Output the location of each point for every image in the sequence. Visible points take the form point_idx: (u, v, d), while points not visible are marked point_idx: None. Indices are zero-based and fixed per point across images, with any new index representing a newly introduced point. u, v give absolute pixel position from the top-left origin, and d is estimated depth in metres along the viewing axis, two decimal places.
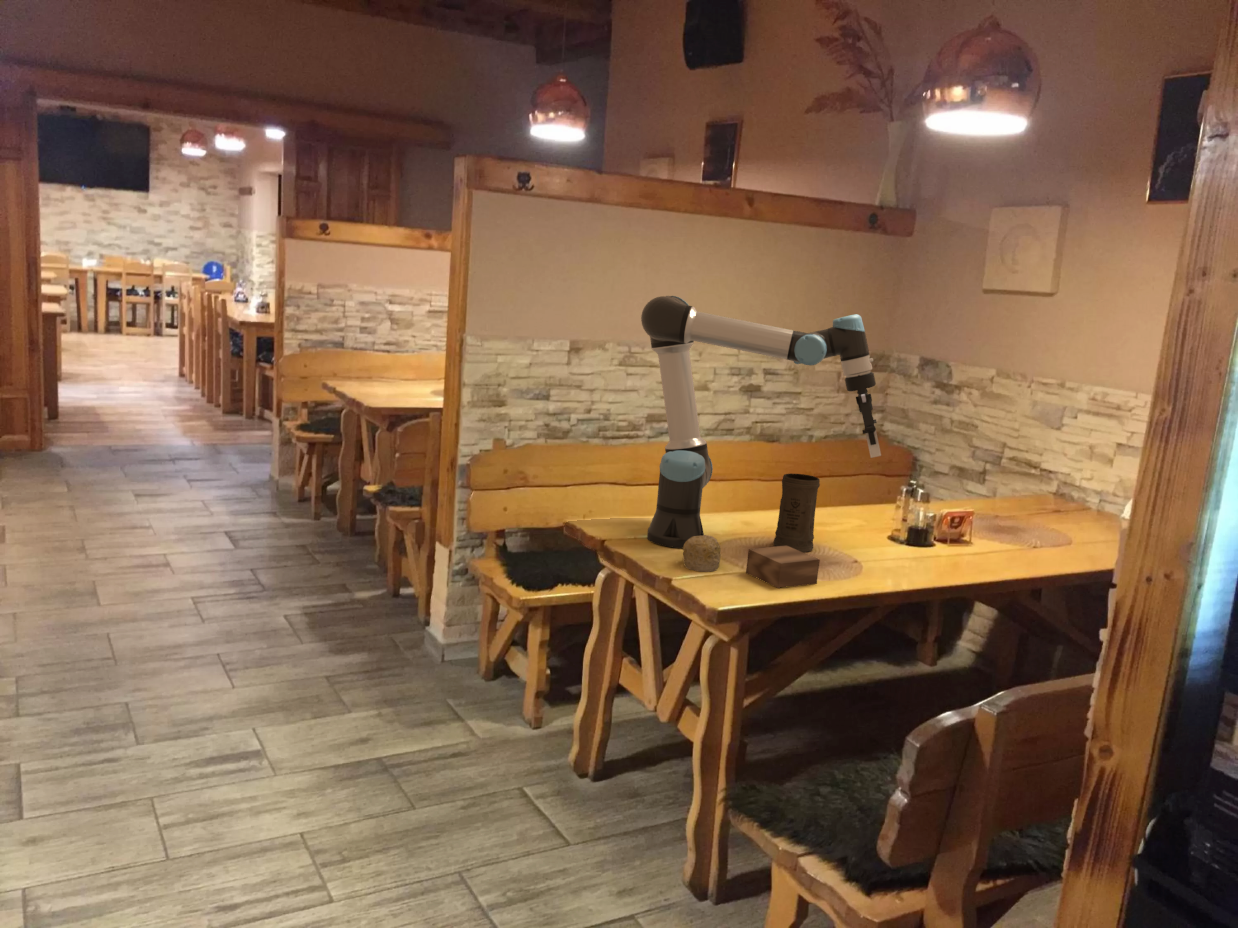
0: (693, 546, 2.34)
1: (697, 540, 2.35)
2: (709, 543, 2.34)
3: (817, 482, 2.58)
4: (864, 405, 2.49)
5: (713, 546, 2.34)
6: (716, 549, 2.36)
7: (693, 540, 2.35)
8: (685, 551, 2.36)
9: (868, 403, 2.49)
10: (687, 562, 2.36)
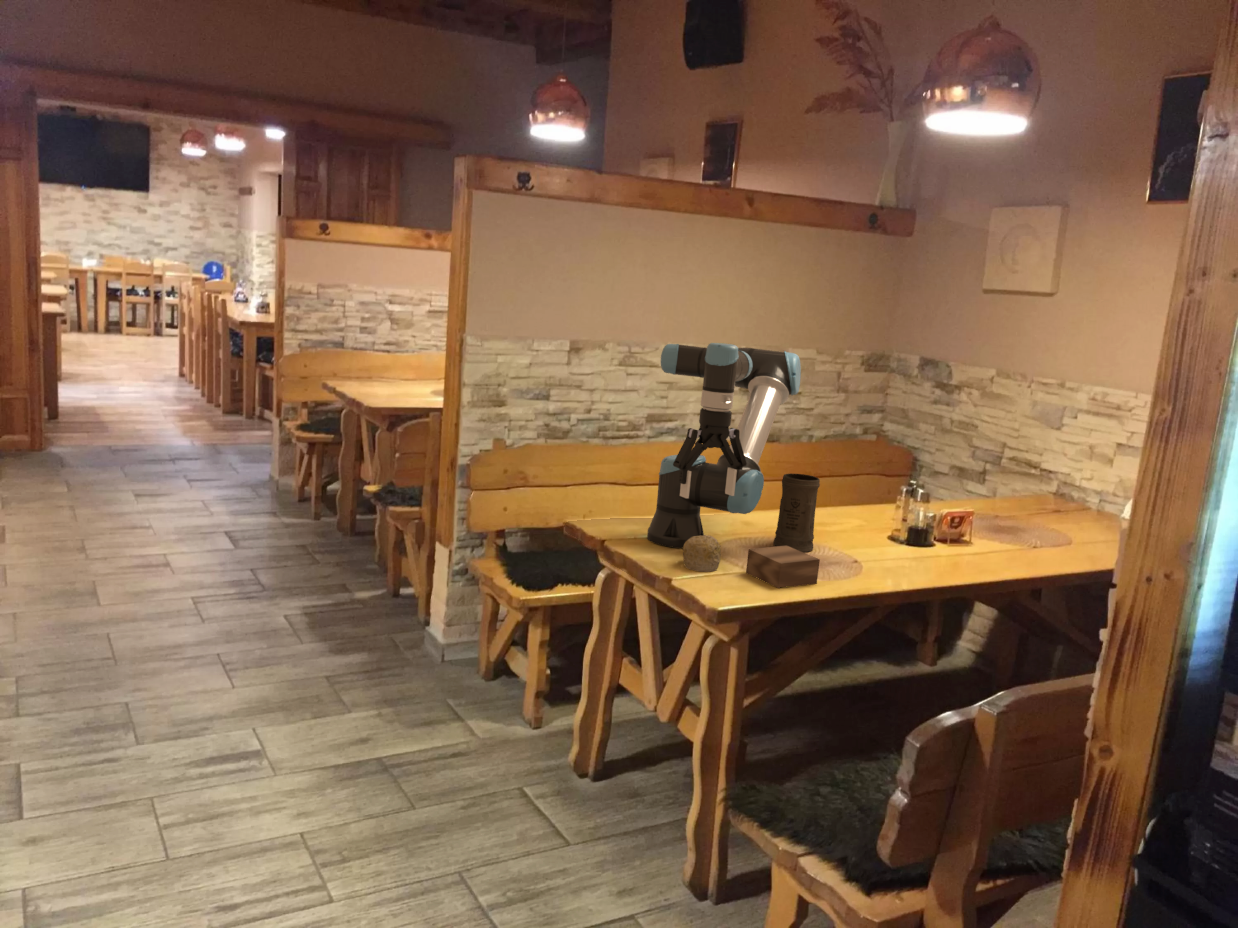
0: (693, 546, 2.34)
1: (697, 540, 2.35)
2: (709, 543, 2.34)
3: (817, 482, 2.58)
4: (687, 440, 2.29)
5: (713, 546, 2.34)
6: (716, 549, 2.36)
7: (693, 540, 2.35)
8: (685, 551, 2.36)
9: (690, 440, 2.28)
10: (687, 562, 2.36)
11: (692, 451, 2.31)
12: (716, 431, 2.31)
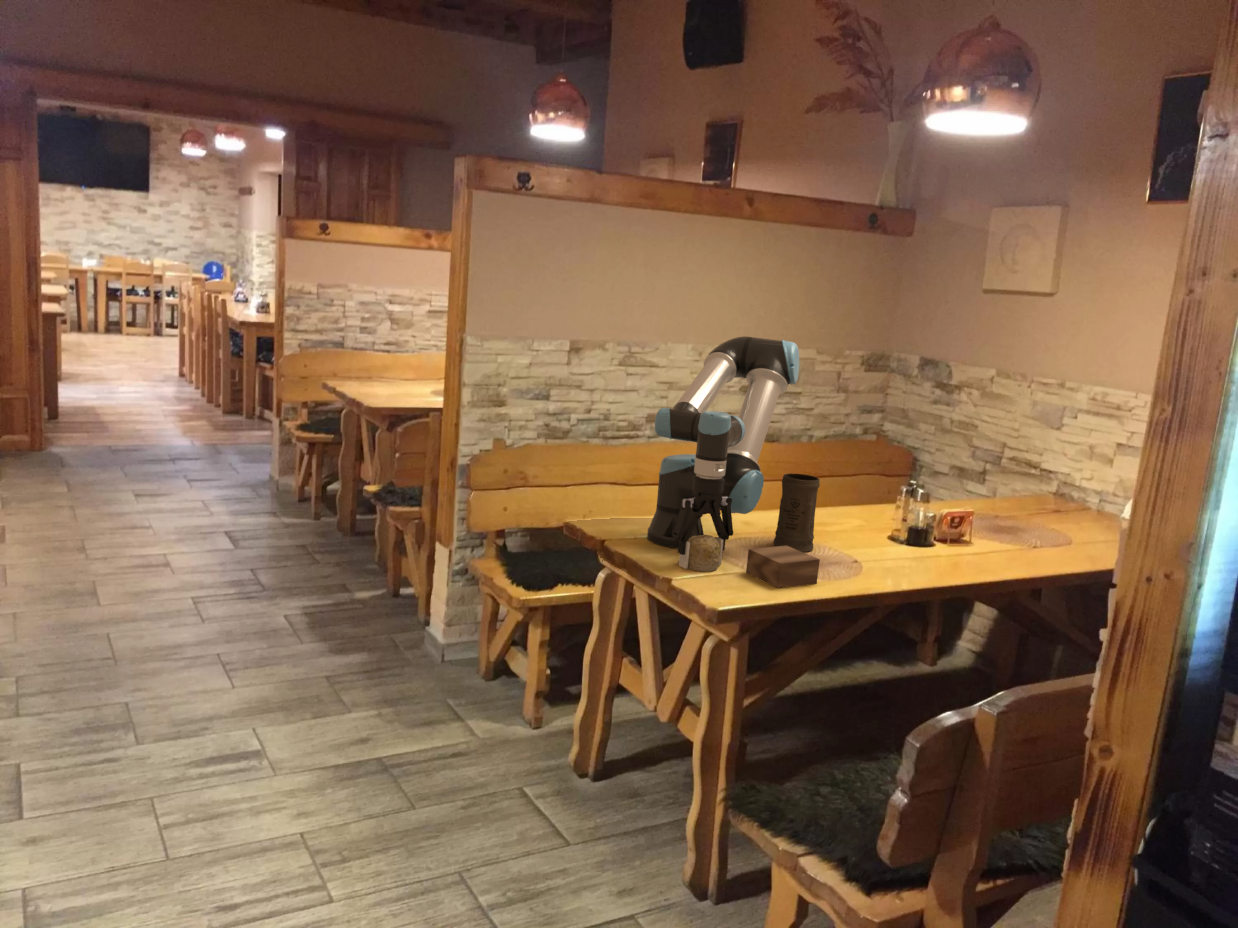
0: (693, 546, 2.34)
1: (697, 540, 2.35)
2: (709, 543, 2.34)
3: (817, 482, 2.58)
4: (682, 511, 2.33)
5: (713, 546, 2.34)
6: (716, 549, 2.36)
7: (693, 540, 2.35)
8: None
9: (685, 511, 2.32)
10: None
11: (688, 520, 2.35)
12: (709, 498, 2.35)
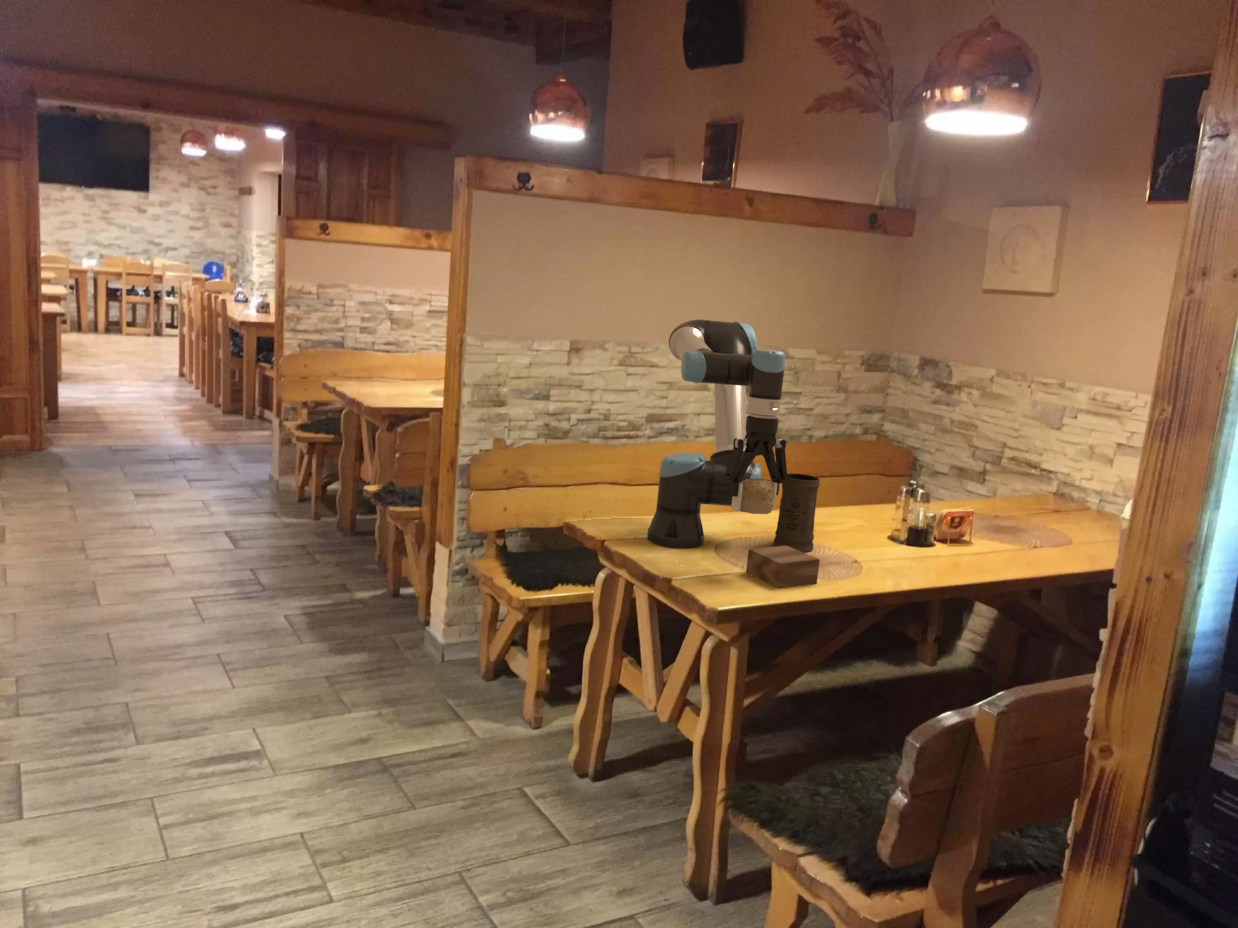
0: (746, 488, 2.28)
1: (750, 482, 2.29)
2: (762, 485, 2.28)
3: (817, 482, 2.58)
4: (735, 451, 2.27)
5: (766, 488, 2.28)
6: (770, 491, 2.29)
7: (746, 482, 2.29)
8: None
9: (738, 450, 2.26)
10: None
11: (741, 462, 2.29)
12: (763, 438, 2.29)
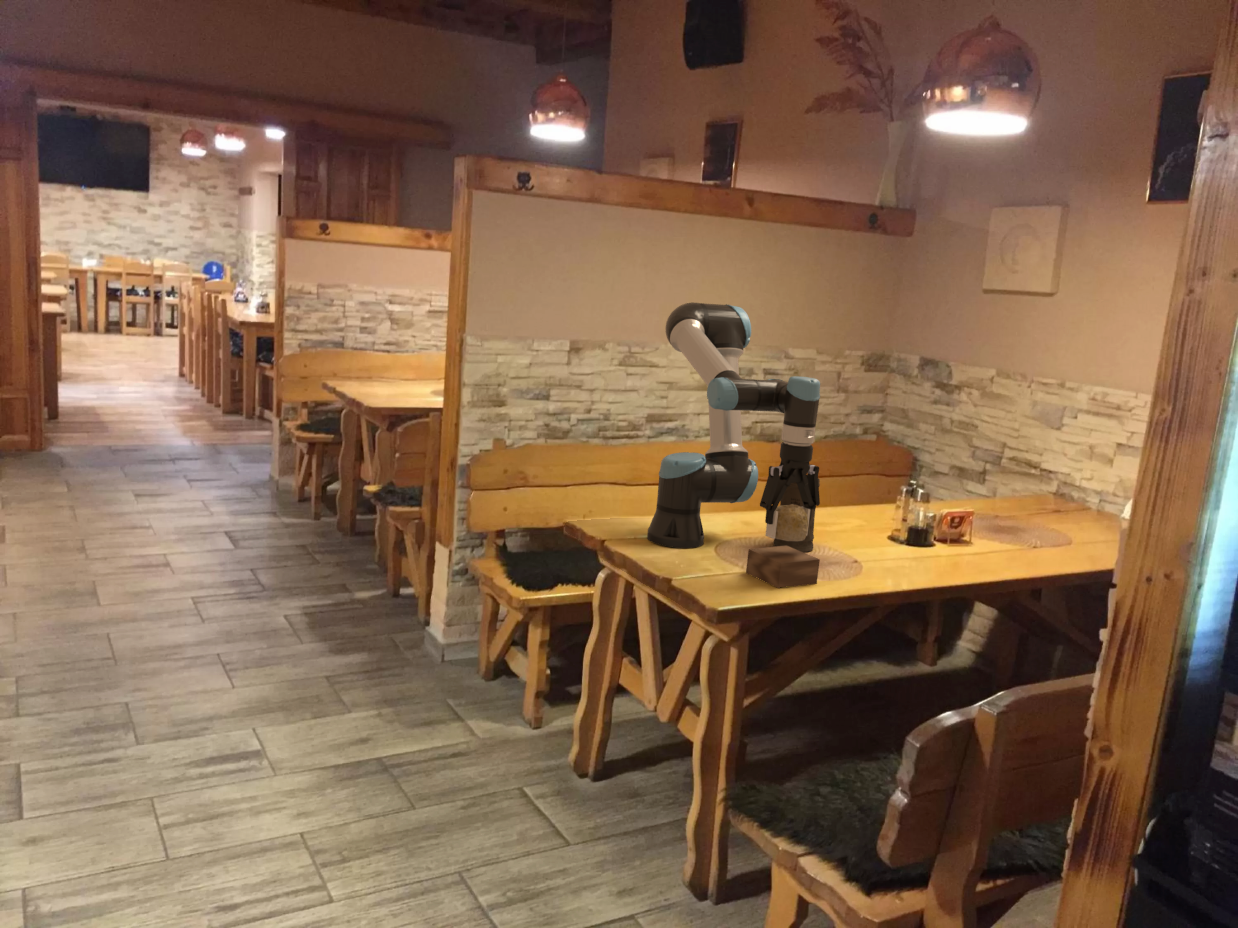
0: (781, 515, 2.28)
1: (785, 509, 2.29)
2: (798, 512, 2.28)
3: None
4: (770, 479, 2.26)
5: (802, 515, 2.28)
6: (804, 518, 2.29)
7: (781, 509, 2.29)
8: None
9: (773, 479, 2.25)
10: None
11: (776, 489, 2.28)
12: (797, 466, 2.28)
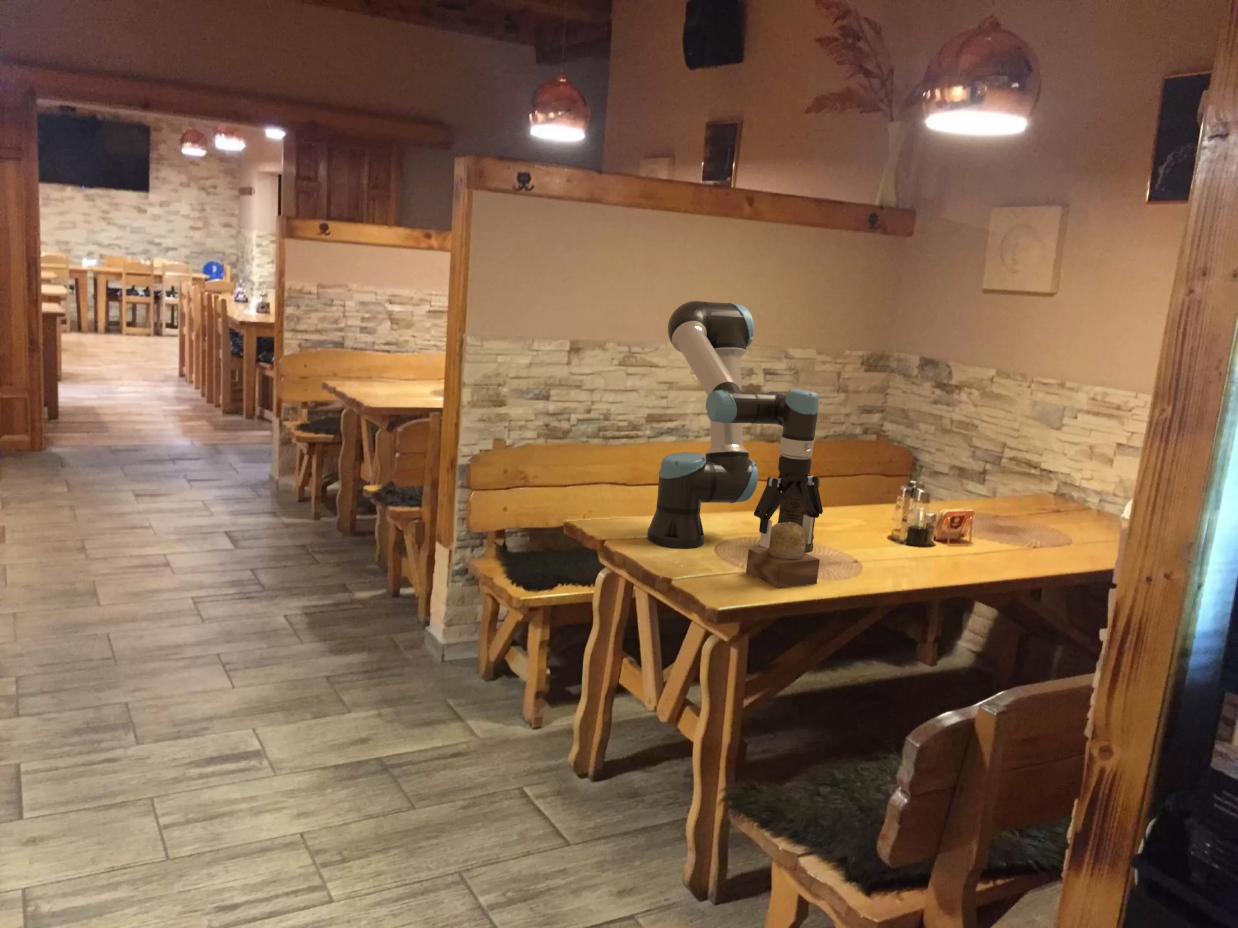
0: (779, 533, 2.29)
1: (783, 527, 2.30)
2: (795, 530, 2.29)
3: None
4: (767, 489, 2.27)
5: (799, 533, 2.29)
6: (802, 536, 2.30)
7: (778, 527, 2.30)
8: (770, 538, 2.31)
9: (771, 489, 2.26)
10: (772, 550, 2.30)
11: (772, 500, 2.29)
12: (795, 479, 2.29)
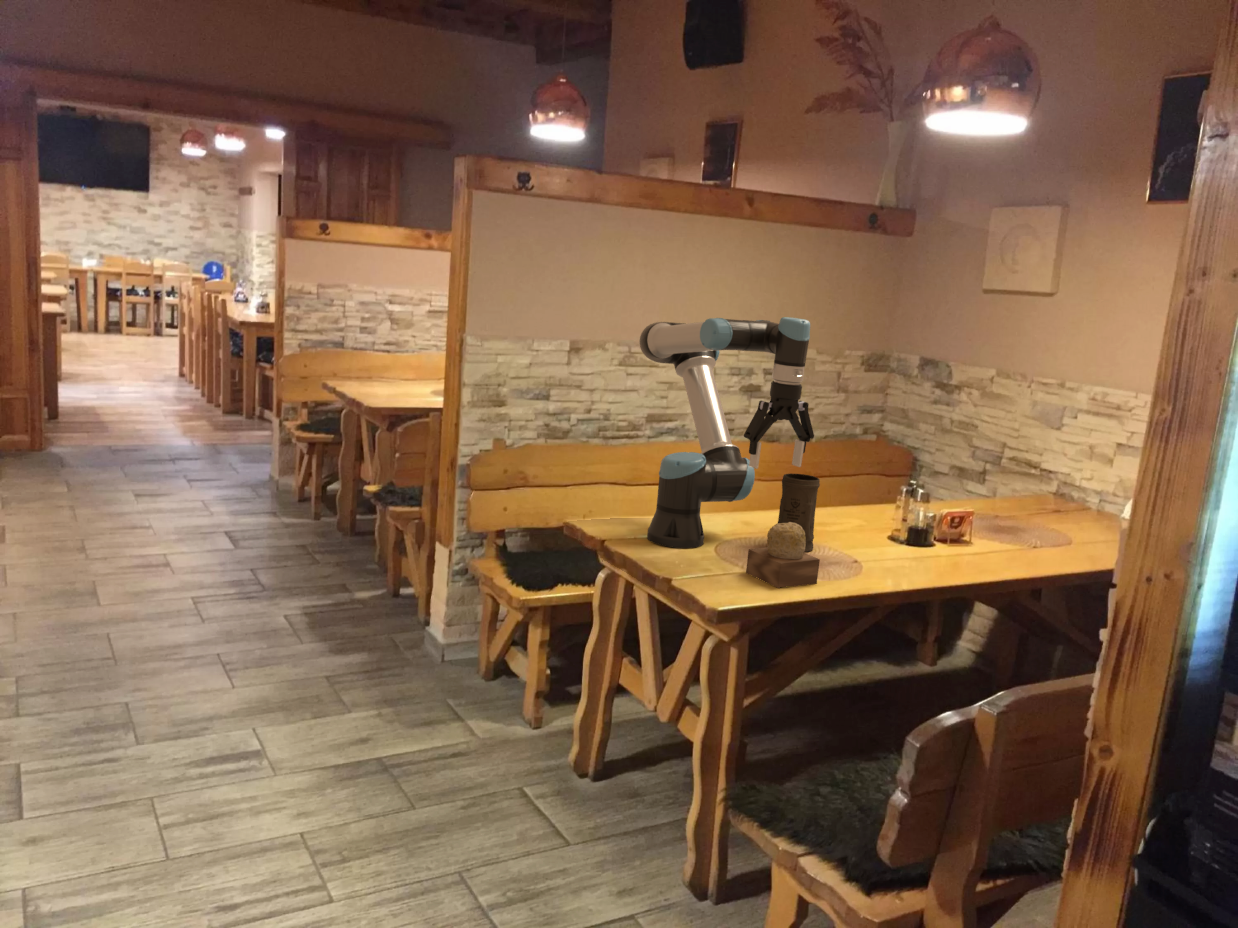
0: (779, 533, 2.29)
1: (783, 527, 2.30)
2: (795, 530, 2.29)
3: (817, 482, 2.58)
4: (758, 412, 2.35)
5: (799, 533, 2.29)
6: (802, 536, 2.30)
7: (779, 527, 2.30)
8: (770, 538, 2.31)
9: (762, 412, 2.34)
10: (772, 550, 2.30)
11: (762, 423, 2.37)
12: (786, 404, 2.37)
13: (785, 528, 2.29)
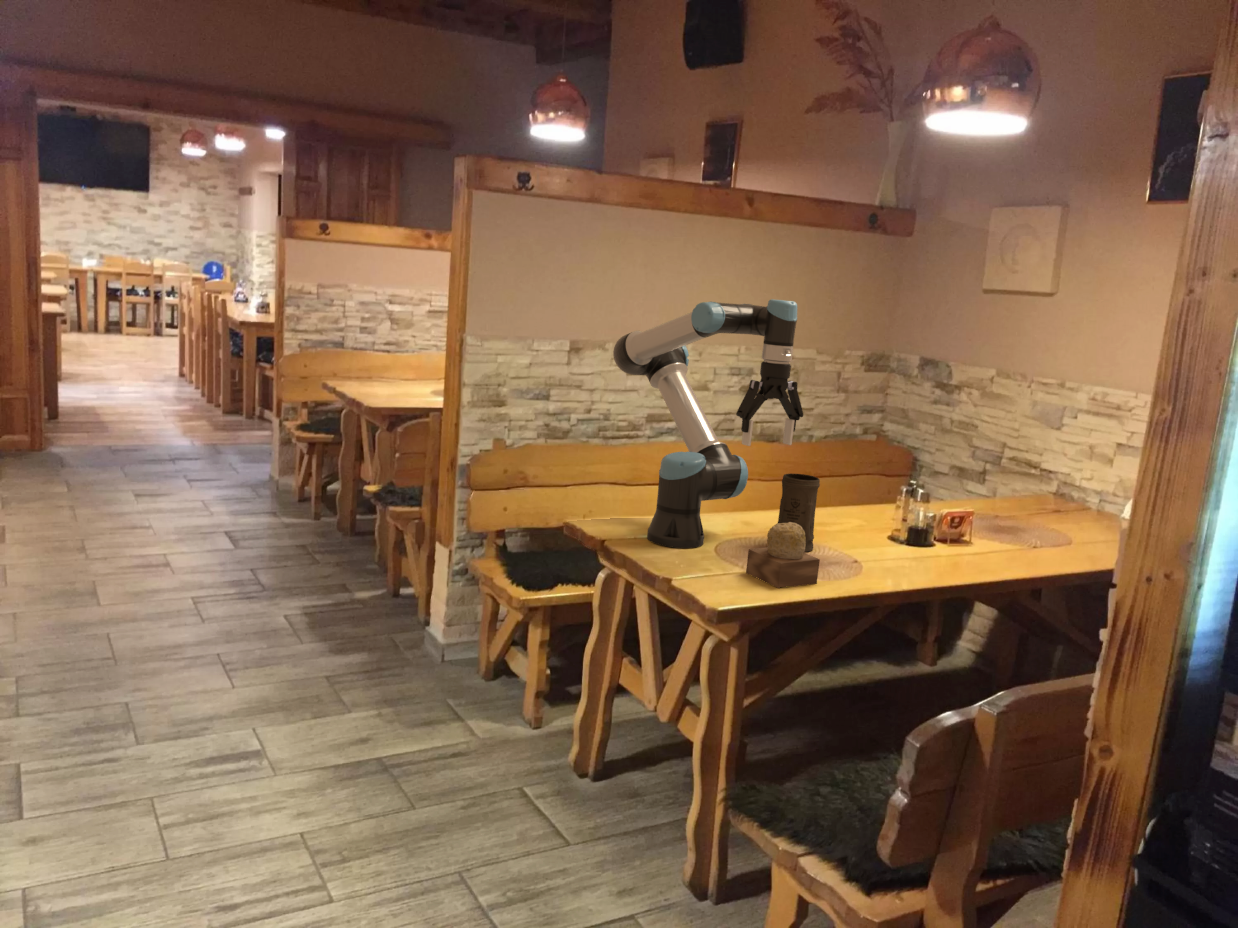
0: (779, 533, 2.29)
1: (783, 527, 2.30)
2: (795, 530, 2.29)
3: (817, 482, 2.58)
4: (750, 391, 2.44)
5: (799, 533, 2.29)
6: (802, 536, 2.30)
7: (779, 527, 2.30)
8: (770, 538, 2.31)
9: (753, 390, 2.43)
10: (772, 550, 2.30)
11: (754, 402, 2.45)
12: (776, 383, 2.46)
13: (785, 528, 2.29)
